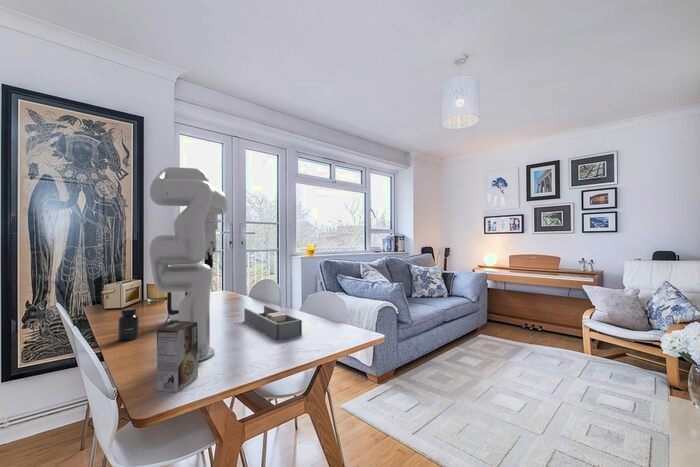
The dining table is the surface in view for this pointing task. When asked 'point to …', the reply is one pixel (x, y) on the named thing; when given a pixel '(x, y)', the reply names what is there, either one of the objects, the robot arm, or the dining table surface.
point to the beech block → (277, 317)
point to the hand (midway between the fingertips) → (208, 268)
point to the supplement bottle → (128, 325)
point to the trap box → (274, 323)
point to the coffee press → (174, 305)
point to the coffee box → (177, 356)
